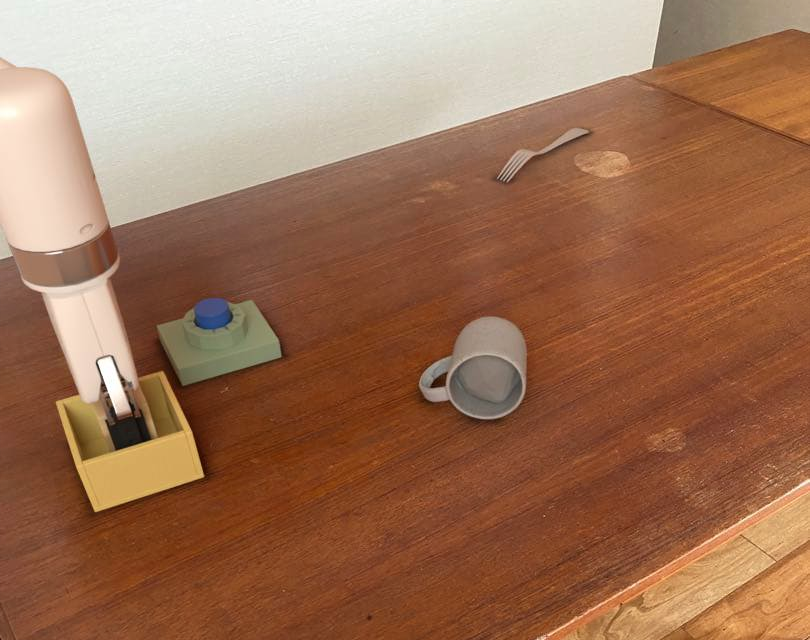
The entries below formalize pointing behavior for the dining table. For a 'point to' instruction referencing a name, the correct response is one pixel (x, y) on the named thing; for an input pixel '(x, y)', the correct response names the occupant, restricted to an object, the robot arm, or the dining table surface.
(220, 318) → the blue short cylinder
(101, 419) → the block
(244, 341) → the green socket base
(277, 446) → the dining table surface
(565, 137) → the fork
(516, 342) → the ceramic mug
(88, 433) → the bin
